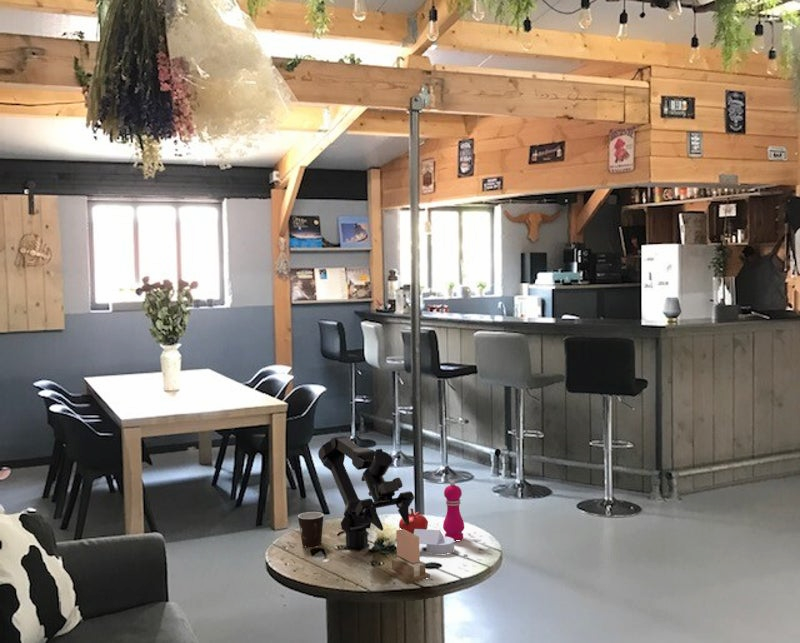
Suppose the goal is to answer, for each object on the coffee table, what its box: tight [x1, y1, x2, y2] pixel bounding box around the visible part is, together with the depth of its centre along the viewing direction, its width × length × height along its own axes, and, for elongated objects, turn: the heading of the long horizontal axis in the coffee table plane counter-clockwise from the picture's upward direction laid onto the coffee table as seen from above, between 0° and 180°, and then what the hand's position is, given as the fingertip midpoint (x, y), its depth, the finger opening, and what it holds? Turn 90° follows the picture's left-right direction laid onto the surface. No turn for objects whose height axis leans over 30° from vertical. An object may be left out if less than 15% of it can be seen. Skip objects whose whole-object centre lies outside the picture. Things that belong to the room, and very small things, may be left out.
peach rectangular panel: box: [395, 529, 421, 563], centre depth 244 cm, size 9×2×8 cm, turn 31°
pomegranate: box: [398, 507, 429, 534], centre depth 285 cm, size 10×10×9 cm
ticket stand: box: [387, 554, 431, 585], centre depth 244 cm, size 11×8×5 cm
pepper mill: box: [442, 480, 465, 541], centre depth 278 cm, size 7×7×20 cm
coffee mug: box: [297, 511, 324, 548], centre depth 276 cm, size 12×9×10 cm
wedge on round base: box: [414, 529, 455, 555], centre depth 268 cm, size 9×7×13 cm
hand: (395, 527), depth 250 cm, fingers open, 9 cm apart
